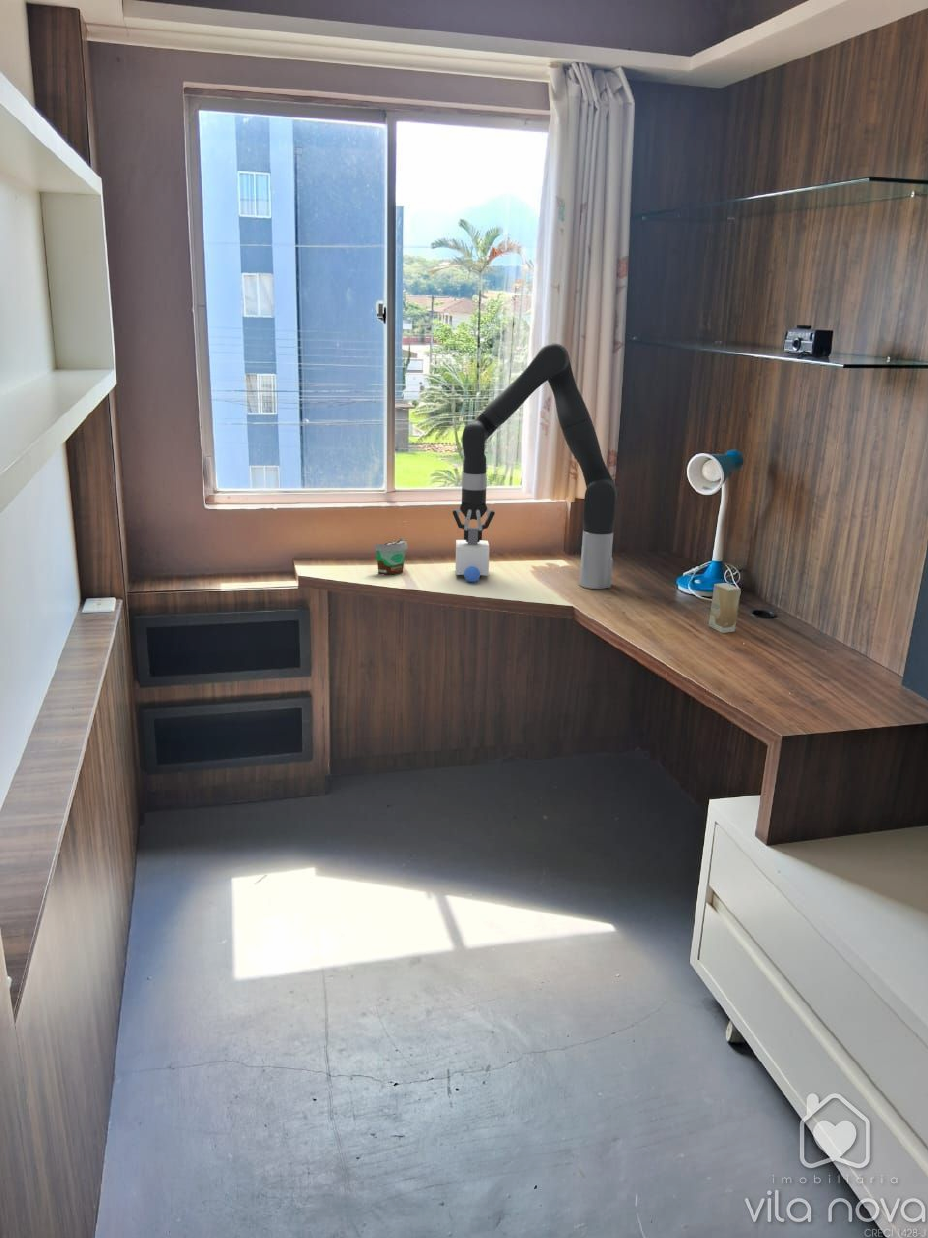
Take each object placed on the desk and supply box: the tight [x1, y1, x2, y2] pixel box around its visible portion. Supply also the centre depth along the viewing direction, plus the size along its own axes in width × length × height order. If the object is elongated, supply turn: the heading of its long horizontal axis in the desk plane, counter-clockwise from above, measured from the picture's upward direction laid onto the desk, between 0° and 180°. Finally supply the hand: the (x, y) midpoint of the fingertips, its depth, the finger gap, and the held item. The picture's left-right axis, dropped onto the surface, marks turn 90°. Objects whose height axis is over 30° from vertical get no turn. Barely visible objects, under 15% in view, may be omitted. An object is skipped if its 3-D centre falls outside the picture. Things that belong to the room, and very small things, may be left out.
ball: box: [463, 566, 481, 583], centre depth 293 cm, size 5×5×5 cm
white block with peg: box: [455, 526, 490, 576], centre depth 299 cm, size 10×10×14 cm
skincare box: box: [708, 582, 742, 634], centre depth 255 cm, size 6×4×12 cm
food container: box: [374, 537, 408, 576], centre depth 299 cm, size 12×6×10 cm, turn 143°
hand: (472, 541), depth 298 cm, fingers closed on white block with peg, 3 cm apart
